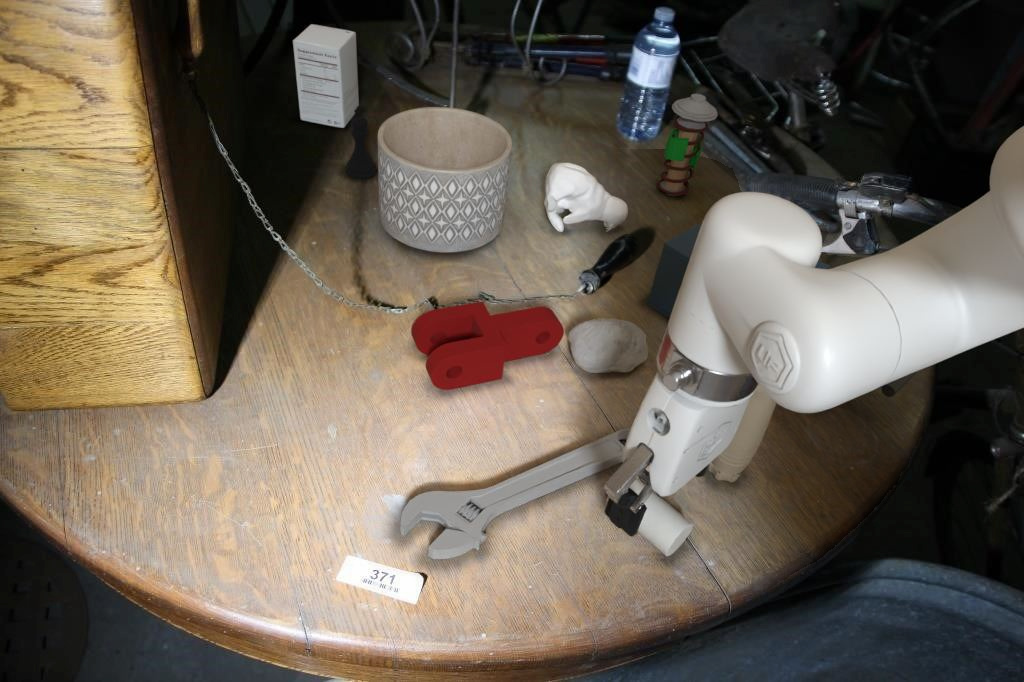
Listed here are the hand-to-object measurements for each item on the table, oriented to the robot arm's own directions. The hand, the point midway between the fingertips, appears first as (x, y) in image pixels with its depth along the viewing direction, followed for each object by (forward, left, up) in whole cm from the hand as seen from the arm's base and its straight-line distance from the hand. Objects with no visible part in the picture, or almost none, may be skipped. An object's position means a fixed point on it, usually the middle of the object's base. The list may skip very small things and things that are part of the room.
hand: (655, 493), depth 66 cm
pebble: (+17, -13, -4) cm, 21 cm away
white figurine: (+37, -31, -4) cm, 48 cm away
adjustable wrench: (+8, +7, -4) cm, 11 cm away
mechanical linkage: (+25, -3, -4) cm, 25 cm away
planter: (+48, -15, -4) cm, 50 cm away
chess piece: (+65, -14, -4) cm, 66 cm away
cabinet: (+13, -31, -4) cm, 34 cm away
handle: (-2, -10, -4) cm, 11 cm away
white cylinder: (0, 0, -4) cm, 4 cm away
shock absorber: (+35, -49, -4) cm, 60 cm away
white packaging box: (+82, -20, -4) cm, 84 cm away
